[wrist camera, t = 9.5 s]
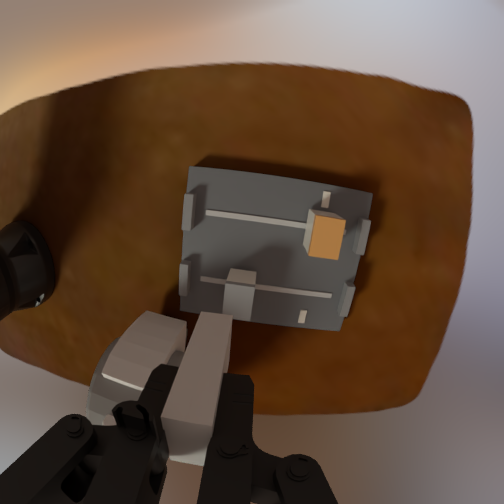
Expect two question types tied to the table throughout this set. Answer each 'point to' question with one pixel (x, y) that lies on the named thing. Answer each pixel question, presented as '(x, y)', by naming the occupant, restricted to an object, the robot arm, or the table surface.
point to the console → (269, 246)
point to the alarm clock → (134, 363)
